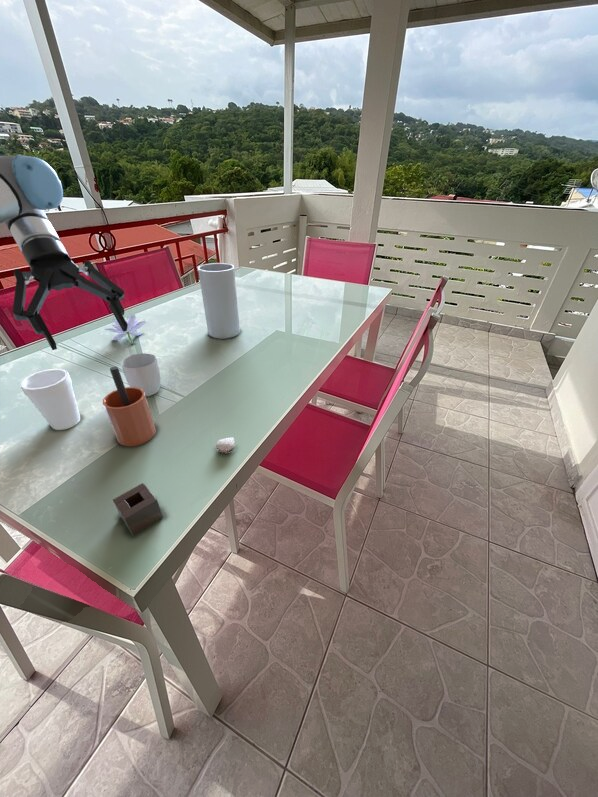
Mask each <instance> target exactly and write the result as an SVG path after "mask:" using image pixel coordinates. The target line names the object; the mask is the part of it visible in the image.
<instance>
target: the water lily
mask: <svg viewBox="0 0 598 797" xmlns="http://www.w3.org/2000/svg"><path fill="white" fill-rule="evenodd" d="M136 319H137V316H136V314H131V316H130V317H128V318H127V319H126V320H125V321H126V323H127V324H128V326H127V331H124V332H123V330H122V328H121V327H120V325H119V323H118V321H117V320H116V318H113V319H112V322H113V323H114V324H112V325H111V326H112V327H113V328H111V327H110V328H105V329H104V330H105V331H107V332H111V333H117V334H116V336H113V338H112V341H113V342H115V341H118V340H121V339H123V338H124V337H125V336H126V335H127V336H128V339H129V341H130V344H131V345H134V341H133V339H132V338H131V337H132V336H141V335H142V334H143V332H142V331H137V330H139V329H140V328H142V327H143V326H144V325H145V324H146V323H147V320H142V321H139V320H136ZM138 321H139V322H138Z"/></svg>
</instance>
